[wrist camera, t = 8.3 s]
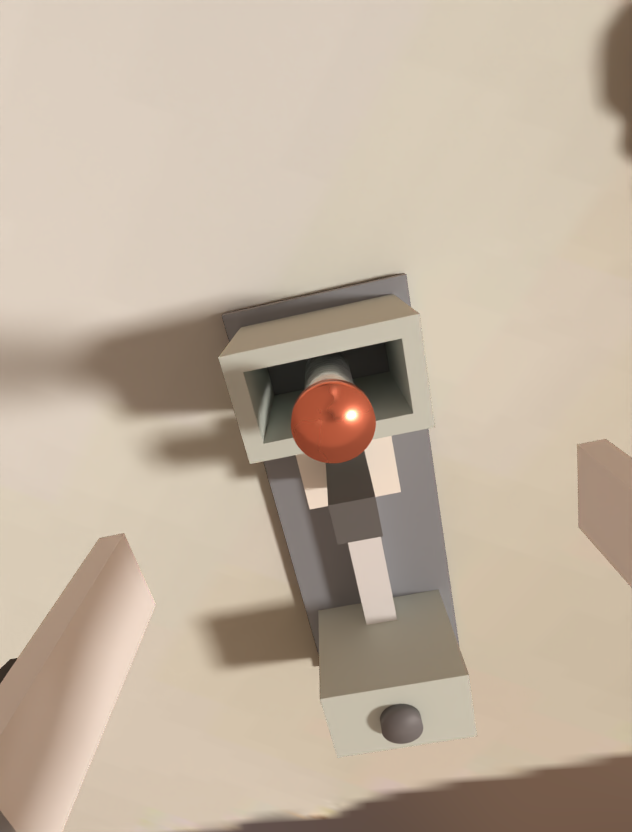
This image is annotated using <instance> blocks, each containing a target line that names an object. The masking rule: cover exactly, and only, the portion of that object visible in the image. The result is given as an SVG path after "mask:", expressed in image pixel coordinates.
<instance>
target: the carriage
mask: <svg viewBox="0 0 632 832" xmlns="http://www.w3.org/2000/svg"><path fill="white" fill-rule="evenodd" d="M296 458H297V462H298V466H299V470H300V474H301V478H302V482H303V486H304V489H305V493H306V497H307V501H308V505H309V509H315V508H320V507H325V506H328V507H329V511H330V515H331V520H332V524H333V528H334V532H335V536H336V540H337V545H339V544H344V543H350V542H355V541H360V540H366V539H371V538H377V537H382V536H383V533H382V528H381V523H380V518H379V513H378V508H377V502H376V497H378V496H383V495H388V494H393V493H399V492H401V489H400V483H399V477H398V471H397V466H396V460H395V454H394V448H393V443H392V437H391V436H388V437H383V438H378V439H373V440H372V441H371V443H370V444H369V446H368V447H367V448H366V449H365V450H364V451H363V452H362V453H361V454H360V455H358V456H357V457H355V458H353V459H351V460H349V461H346V462H342V463H324V462H320V461H317V460H314V459H312V458H310V457H309V456H307V455H306V454H305V453H303V454H298V455H296Z"/></svg>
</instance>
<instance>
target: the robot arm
mask: <svg viewBox="0 0 632 832" xmlns="http://www.w3.org/2000/svg"><path fill="white" fill-rule="evenodd" d="M577 468H578V525H579V528H580V529H581V531H582V532H583V533H584V534H585V535H586V536H587V537H588V539H589V540H590V541H591V542H592V543H593V544H594V545H595V547H596V548H597V549H598V550H599V551H600V552H601V553H602V554H603V556H604V557H605V558H606V559H607V560H608V561H609V562H610V564H611V565H612V566H613V567H614V568H615V569H616V570H617V572H618V573H619V574H620V575H621V576H622V577H623V578H624V579H625V581H626V582H627V583H628V584H629V585H630V586H631V587H632V458H631V457H630V456H629V455H627V454H626V453H624V452H623V451H622V450H620V449H619V448H618V447H616V446H615V445H613V444H612V443H611V442H609V441H608V440H607V439H603V440H598V441H592V442H587V443H582V444H577ZM155 606H156V604H155V601H154V599H153V597H152V595H151V592H150V590H149V588H148V586H147V583H146V581H145V579H144V577H143V575H142V572H141V570H140V568H139V566H138V563H137V561H136V559H135V557H134V554H133V552H132V550H131V548H130V546H129V543H128V541H127V539H126V537H125V534H124V533H123V534H117V535H112V536H107V537H102V538H99V539H98V541H97V542H96V544H95V545H94V547H93V548H92V550H91V551H90V553H89V554H88V556H87V557H86V559H85V560H84V561H83V563H82V564H81V566H80V567H79V569H78V570H77V572H76V573H75V575H74V576H73V578H72V579H71V581H70V582H69V584H68V585H67V586H66V588H65V589H64V591H63V592H62V594H61V595H60V597H59V598H58V600H57V601H56V603H55V604H54V606H53V607H52V609H51V610H50V611H49V613H48V614H47V616H46V617H45V619H44V620H43V622H42V623H41V625H40V626H39V628H38V629H37V631H36V632H35V634H34V635H33V636H32V638H31V639H30V641H29V642H28V644H27V645H26V647H25V648H24V650H23V651H22V653H21V654H20V656H19V657H18V658H15V659H10V660H9V661H8V662H7V663H6V664H5V665H4V666H3V667H2V668H1V669H0V832H62V831H63V829H64V827H65V824H66V822H67V819H68V817H69V814H70V812H71V810H72V807H73V805H74V802H75V800H76V797H77V795H78V793H79V790H80V788H81V785H82V783H83V780H84V778H85V776H86V773H87V771H88V768H89V766H90V763H91V761H92V759H93V756H94V754H95V751H96V749H97V746H98V744H99V742H100V739H101V737H102V734H103V732H104V729H105V727H106V725H107V722H108V720H109V717H110V715H111V712H112V710H113V708H114V705H115V703H116V700H117V698H118V695H119V693H120V691H121V688H122V686H123V683H124V681H125V678H126V676H127V674H128V671H129V669H130V666H131V664H132V661H133V659H134V657H135V654H136V652H137V649H138V647H139V644H140V642H141V640H142V637H143V635H144V632H145V630H146V627H147V625H148V623H149V620H150V618H151V615H152V613H153V610H154V608H155Z"/></svg>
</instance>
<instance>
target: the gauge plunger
mask: <svg viewBox="0 0 632 832" xmlns="http://www.w3.org/2000/svg"><path fill="white" fill-rule="evenodd" d="M375 428H376V419H375V414H374V410H373V407H372V405H371V402H370V400H369V398H368V397H367V395H366V394H365V393H364V392H363V391H362V390H361V389H360V388H359V387H357V386H356V385H354V383H353V379H352V375H351V372H350V368H349V365H348V361H347V359H346V358H345V356H344V355H343V354H342V353H341V352H336V353H331V354H327V355H322V356H317V357H313V358H308V360H307V363H306V367H305V386H304V391H303V392H302V393H301V394H300V395H299V396H298V398H297V400H296V401H295V404H294V406H293V410H292V416H291V432H292V435H293V439H294V441H295V443H296V444H297V446H298V447H299V448H300V449H301V451H302V452H304V453H305V454H306V455H307V456H309V457H310V458H312V459H314V460H317V461H320V462H324V463H342V462H346V461H349V460H351V459H353V458H355V457H357V456H358V455H360V454H361V453H362V452H363V451H364V450H365V449H366V448H367V447H368V446H369V444H370V443H371V441H372V439H373V436H374V433H375Z"/></svg>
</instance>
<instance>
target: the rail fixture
mask: <svg viewBox="0 0 632 832" xmlns="http://www.w3.org/2000/svg"><path fill="white" fill-rule="evenodd" d="M222 318H223V322H224V325H225V329H226V332H227V336H228V339H229V344H228V345H227V346H226V348H225V349H224V350H223V352H222V353H221V354H220V356H219V357H218V359H219V362H220V365H221V369H222V372H223V376H224V379H225V382H226V386H227V389H228V392H229V396H230V399H231V402H232V406H233V409H234V412H235V416H236V419H237V423H238V426H239V429H240V433H241V436H242V439H243V443H244V446H245V449H246V453H247V456H248V459H249V463H250V464H253V463H258V462H264V465H265V469H266V472H267V476H268V479H269V483H270V486H271V490H272V493H273V497H274V500H275V504H276V507H277V511H278V514H279V518H280V521H281V525H282V528H283V532H284V535H285V539H286V542H287V546H288V549H289V553H290V556H291V560H292V563H293V567H294V570H295V574H296V577H297V581H298V584H299V588H300V591H301V595H302V598H303V602H304V605H305V609H306V612H307V616H308V619H309V623H310V626H311V630H312V633H313V637H314V640H315V644H316V647H317V651H318V654H319V676H320V701H321V705H322V708H323V711H324V715H325V718H326V721H327V725H328V728H329V731H330V735H331V738H332V741H333V745H334V748H335V752H336V755H337V758H340V757H347V756H353V755H360V754H366V753H373V752H379V751H386V750H392V749H399V748H405V747H412V746H418V745H425V744H431V743H438V742H444V741H451V740H457V739H464V738H470V737H477V730H476V723H475V716H474V708H473V701H472V694H471V687H470V679H469V674H468V671H467V668H466V665H465V662H464V660H463V657H462V654H461V651H460V648H459V641H458V634H457V627H456V620H455V613H454V606H453V599H452V592H451V585H450V578H449V571H448V564H447V557H446V550H445V543H444V536H443V529H442V522H441V515H440V508H439V501H438V494H437V487H436V480H435V473H434V465H433V458H432V451H431V444H430V437H429V430H428V428H433V427H435V423H434V415H433V408H432V401H431V394H430V386H429V379H428V372H427V364H426V357H425V350H424V342H423V335H422V328H421V320H420V314H419V313H418V312H417V311H415V310H414V309H413V308H411V304H410V297H409V290H408V283H407V276H406V274H404V273H403V274H399V275H394V276H390V277H385V278H381V279H376V280H372V281H367V282H363V283H358V284H354V285H349V286H345V287H340V288H336V289H331V290H327V291H322V292H318V293H314V294H309V295H305V296H300V297H296V298H291V299H287V300H282V301H278V302H273V303H269V304H264V305H260V306H255V307H251V308H246V309H242V310H237V311H233V312H228V313H224V314H223V315H222ZM336 352H341V353H342V354H343V355H344V356H345V358H346V359H347V361H348V365H349V368H350V372H351V375H352V379H353V383H354V385H356V386H357V387H359V388H360V389H361V390H362V391H363V392H364V393H365V394H366V395H367V397H368V398H369V400H370V402H371V405H372V407H373V410H374V414H375V419H376V428H375V433H374V436H373V439H378V438H383V437H388V436H391V437H392V443H393V448H394V454H395V460H396V466H397V471H398V477H399V483H400V489H401V492H399V493H393V494H388V495H383V496H378V497H376V502H377V508H378V513H379V518H380V523H381V528H382V533H383V536H382V537H377V538H371V539H366V540H360V541H355V542H350V543H344V544H339V545H337V540H336V536H335V532H334V528H333V524H332V520H331V515H330V511H329V507H328V506H325V507H320V508H315V509H309V505H308V501H307V497H306V493H305V489H304V486H303V482H302V478H301V474H300V470H299V466H298V462H297V458H296V455H298V454H303V453H304V452H302V451H301V449H300V448H299V447H298V446H297V444H296V443H295V441H294V439H293V435H292V432H291V416H292V410H293V406H294V404H295V401H296V400H297V398H298V396H299V395H300V394H301V393H302V392H303V391H304V386H305V367H306V363H307V360H308V358H313V357H317V356H322V355H327V354H331V353H336ZM373 439H372V440H373Z"/></svg>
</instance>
